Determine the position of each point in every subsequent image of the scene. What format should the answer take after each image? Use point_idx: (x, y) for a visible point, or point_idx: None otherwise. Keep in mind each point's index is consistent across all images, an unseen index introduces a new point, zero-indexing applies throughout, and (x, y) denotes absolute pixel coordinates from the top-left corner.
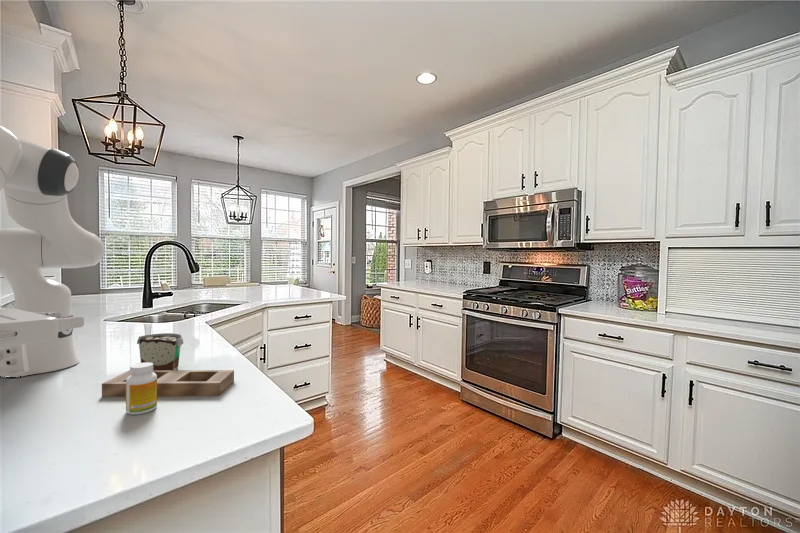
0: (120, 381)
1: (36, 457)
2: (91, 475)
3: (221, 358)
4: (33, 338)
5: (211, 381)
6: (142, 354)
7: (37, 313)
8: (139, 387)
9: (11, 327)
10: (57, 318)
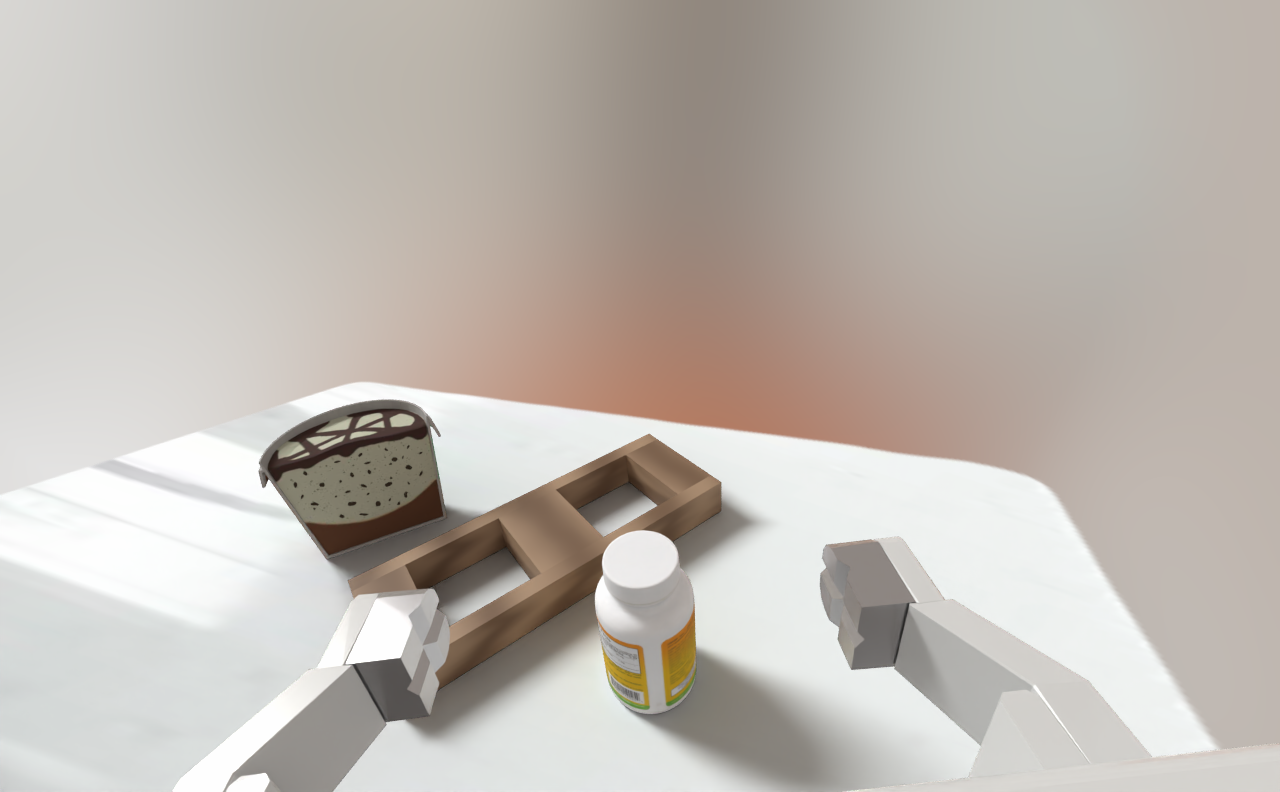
0: None
1: None
2: None
3: (460, 419)
4: None
5: (691, 488)
6: (303, 509)
7: (290, 730)
8: (689, 627)
9: None
10: (441, 635)
